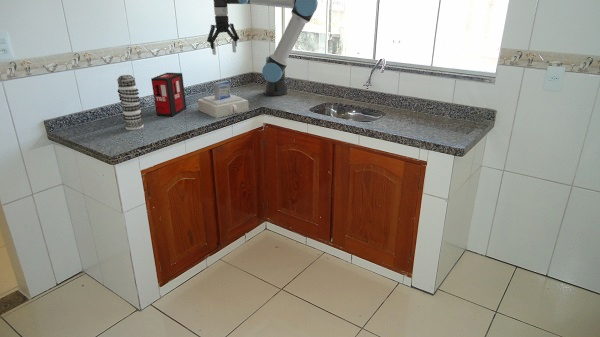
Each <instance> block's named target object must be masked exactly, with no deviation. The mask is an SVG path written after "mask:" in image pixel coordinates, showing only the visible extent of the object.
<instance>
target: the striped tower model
mask: <svg viewBox="0 0 600 337" xmlns="http://www.w3.org/2000/svg"><path fill="white" fill-rule="evenodd" d="M135 79H136V78H135V77H134V76H133V75H130V74H124V75H123V74H121V75H119V76H118V78H117V79H116V81H117V85H118V86H117V87H118V88H117V93H118V99H119V101H120V104H121V105H120V106H122V112H123V114H122V116H123V119H124V121H123V123H124V127H125V130H127V131H136V130H140V129H143V128H144V119H143V113H142V111H141V108H140V104H141V103H140V102H141V99H140V96H138V95H139V94H140V93H139V92H138V91H139V89H138V88H137V84H136V80H135Z"/></svg>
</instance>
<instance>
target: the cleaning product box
mask: <svg viewBox="0 0 600 337" xmlns="http://www.w3.org/2000/svg"><path fill="white" fill-rule="evenodd" d="M151 85H152V91H153V92H152V93H153V97H154V107H155V111H156V117H167V118H174V117H175V116H177V115H178V114H180V113H182V112H183V111H185V110H187V103H186V93H185V85H184V77H183V72H165V73H163V74H160V75H157V76H155V77H151Z"/></svg>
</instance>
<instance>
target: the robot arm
mask: <svg viewBox="0 0 600 337" xmlns="http://www.w3.org/2000/svg"><path fill="white" fill-rule="evenodd" d="M318 2H319V1H318V0H213V8H214V15H215V16H214V21H215V24H211V25H210V29H209V33H208V37H207V39H206V42H207V43H210V49H211V50H212V51H211V52H212V55H214V56H216V55H217V50H216V42H215V41H216V40H217V38H218V37H219V34H222V33H226V34H227V35H228V36H229V37H230V38H231V40H232V41H231V46H232V48H231V49H232V53H234V54H235V53H237V47H238V46H237V44H238V43H237V41H239V40H240V37H239V35H238V32H237V30H236V29H235V25H234V23H231V22H230V23H229V11H228V10H229V9H228V8H229V7H228V5H254V6H255V5H257V6H263V7H264V6H266V7H276V8H283V9H284V8H285V9H286V8H287V9H291V10H290V11H291V12H290V13H291V17H290V19H289V21H288V24H287V26H286V28H285V29H284V31H283V34H282V36H281V37H280V40H279V42H278V44H277V46H276V48H275V50H274V52H273V53H272V54H270V55H269V56H267V57H266V58H265V64H264V66H263V67H262V71H261V72H262V73H261V74H262V76H263V79H265V80H266V84H265V88H264V94H265V95H268V96H284V95H287V94H288V93H289V88H288V86H287V82H286V68H287V66H288V63H287V62H288V61H287V60H288V58H289V56H290V55H291V53H292V51H293V49H294V47H295V45H296V43H297V41H298V39H299V37H300V35H301V33H302V31H303V30H304V27H305V25H306V24H307V23H310V21H311V20H312V18H313V16H314V14H315V12H316V11H317V8H318ZM229 28H230V29H229Z"/></svg>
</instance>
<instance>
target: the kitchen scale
mask: <svg viewBox="0 0 600 337" xmlns="http://www.w3.org/2000/svg"><path fill="white" fill-rule="evenodd" d="M197 106H198V111H200V112H202V113H204V114H206V115H209V116H210V117H213V118H215V117H216V119H219V118H223V116H224V117H228V115H229V116H232V114H233V115H236V114H235V113H238V114H241V113H240V112H242V113H246V111H247V112H249V111H250V110H249V108H250V107H249V99H245V98H243V97H240V96H238V95H234V94H232V93H230V97H228V98H225V99H221V100H219V99H215V98H214V95H209V96H204V97H202V98H200V99H197ZM218 117H219V118H218Z"/></svg>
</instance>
